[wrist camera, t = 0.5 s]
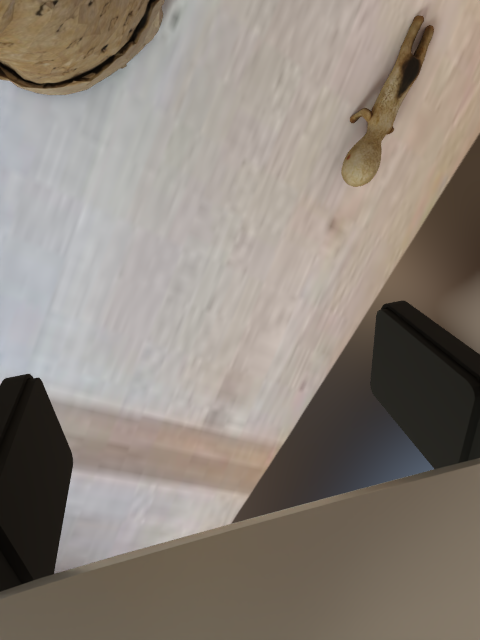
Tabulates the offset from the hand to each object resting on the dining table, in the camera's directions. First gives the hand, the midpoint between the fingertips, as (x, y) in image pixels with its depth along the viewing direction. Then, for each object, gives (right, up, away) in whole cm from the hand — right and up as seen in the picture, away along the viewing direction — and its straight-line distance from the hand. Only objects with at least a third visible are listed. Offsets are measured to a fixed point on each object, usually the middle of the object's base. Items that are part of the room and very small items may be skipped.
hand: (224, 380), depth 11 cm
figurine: (+13, +22, +27) cm, 37 cm away
